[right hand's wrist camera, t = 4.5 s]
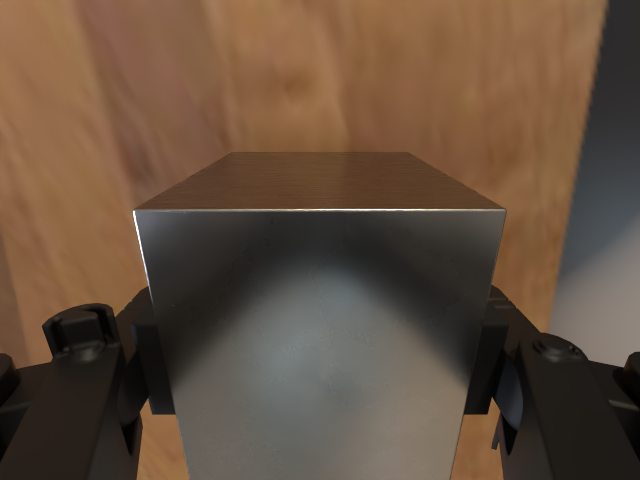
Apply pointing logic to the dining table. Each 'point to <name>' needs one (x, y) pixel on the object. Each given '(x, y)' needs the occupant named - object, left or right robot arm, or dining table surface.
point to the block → (319, 312)
